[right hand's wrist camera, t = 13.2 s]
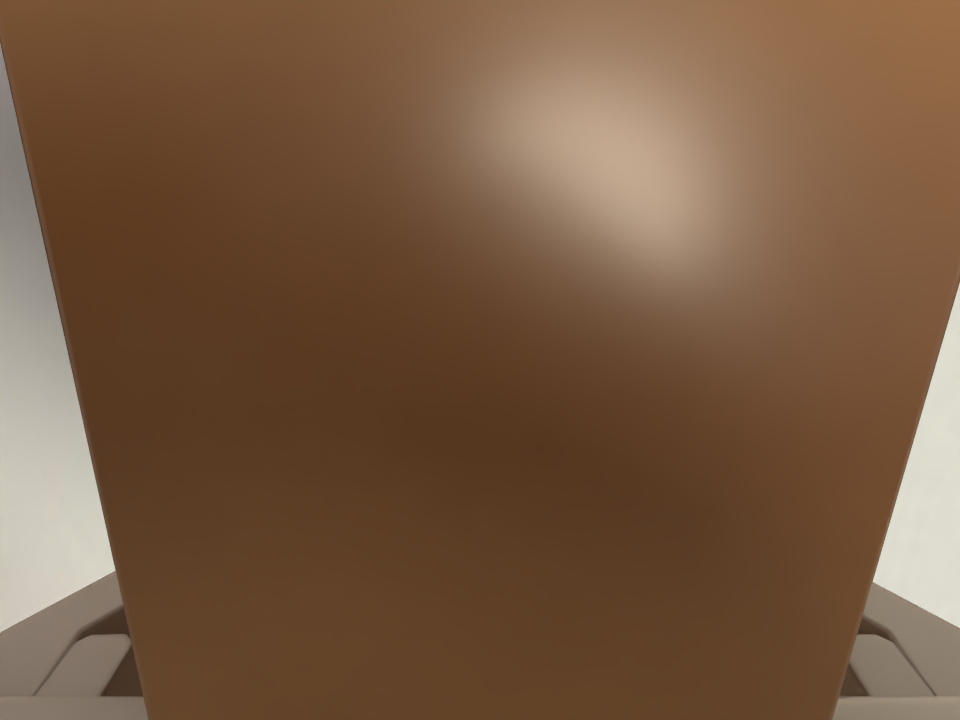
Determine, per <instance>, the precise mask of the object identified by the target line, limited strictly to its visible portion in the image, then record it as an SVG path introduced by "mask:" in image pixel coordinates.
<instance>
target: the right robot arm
mask: <svg viewBox="0 0 960 720" xmlns="http://www.w3.org/2000/svg"><path fill="white" fill-rule="evenodd" d="M0 720H148V716H147V712H146V707H145V703H144V698H143V693H142V689H141V684H140V680H139V675H138V670H137V666H136V661H135V657H134V652H133V648H132V643H131V638H130V634H129V629H128V625H127V620H126V616H125V611H124V606H123V602H122V597H121V593H120V588H119V584H118V579H117V574H116V571H114V572H113V573H111V574H109V575H107V576H105V577H103V578H101V579H99V580H98V581H96V582H94V583H92V584H90V585H88V586H86V587H85V588H83V589H81V590H79V591H77V592H75V593H73V594H71V595H70V596H68V597H66V598H64V599H62V600H60V601H58V602H56V603H55V604H53V605H51V606H49V607H47V608H45V609H43V610H42V611H40V612H38V613H36V614H34V615H32V616H30V617H28V618H27V619H25V620H23V621H21V622H19V623H17V624H15V625H13V626H12V627H10V628H8V629H6V630H4V631H2V632H1V633H0ZM832 720H960V628H958V627H956V626H954V625H952V624H950V623H949V622H947V621H945V620H943V619H941V618H939V617H937V616H935V615H934V614H932V613H930V612H928V611H926V610H924V609H922V608H920V607H919V606H917V605H915V604H913V603H911V602H909V601H907V600H905V599H903V598H902V597H900V596H898V595H896V594H894V593H892V592H890V591H888V590H887V589H885V588H883V587H881V586H879V585H877V584H875V583H873V582H872V585H871V588H870V592H869V595H868V599H867V602H866V605H865V609H864V612H863V616H862V619H861V623H860V626H859V629H858V633H857V636H856V640H855V643H854V647H853V650H852V653H851V657H850V660H849V664H848V667H847V671H846V674H845V678H844V681H843V684H842V688H841V691H840V695H839V698H838V702H837V705H836V708H835V712H834V715H833V719H832Z"/></svg>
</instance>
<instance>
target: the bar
mask: <svg viewBox="0 0 960 720" xmlns="http://www.w3.org/2000/svg"><path fill="white" fill-rule="evenodd" d="M0 43H1V48H2V52H3V57H4V62H5V66H6V71H7V75H8V80H9V84H10V89H11V94H12V98H13V103H14V107H15V112H16V117H17V121H18V126H19V130H20V135H21V139H22V144H23V149H24V153H25V158H26V162H27V167H28V171H29V176H30V181H31V185H32V190H33V194H34V199H35V204H36V208H37V213H38V217H39V222H40V226H41V231H42V236H43V240H44V245H45V249H46V254H47V258H48V263H49V268H50V272H51V277H52V281H53V286H54V290H55V295H56V300H57V304H58V309H59V313H60V318H61V323H62V327H63V332H64V336H65V341H66V345H67V350H68V355H69V359H70V364H71V368H72V373H73V377H74V382H75V387H76V391H77V396H78V400H79V405H80V410H81V414H82V419H83V423H84V428H85V432H86V437H87V442H88V446H89V451H90V455H91V460H92V464H93V469H94V474H95V478H96V483H97V487H98V492H99V497H100V501H101V506H102V510H103V515H104V519H105V524H106V529H107V533H108V538H109V542H110V547H111V551H112V556H113V561H114V565H115V570H116V574H117V579H118V584H119V588H120V593H121V597H122V602H123V606H124V611H125V616H126V620H127V625H128V629H129V634H130V638H131V643H132V648H133V652H134V657H135V661H136V666H137V670H138V675H139V680H140V684H141V689H142V693H143V698H144V703H145V707H146V712H147V716H148V720H832V719H833V715H834V712H835V708H836V705H837V702H838V698H839V695H840V691H841V688H842V684H843V681H844V678H845V674H846V671H847V667H848V664H849V660H850V657H851V653H852V650H853V647H854V643H855V640H856V636H857V633H858V629H859V626H860V623H861V619H862V616H863V612H864V609H865V605H866V602H867V599H868V595H869V592H870V588H871V585H872V581H873V578H874V575H875V571H876V568H877V564H878V561H879V557H880V554H881V550H882V547H883V544H884V540H885V537H886V533H887V530H888V526H889V523H890V520H891V516H892V513H893V509H894V506H895V502H896V499H897V496H898V492H899V489H900V485H901V482H902V478H903V475H904V472H905V468H906V465H907V461H908V458H909V454H910V451H911V447H912V444H913V441H914V437H915V434H916V430H917V427H918V423H919V420H920V417H921V413H922V410H923V406H924V403H925V399H926V396H927V393H928V389H929V386H930V382H931V379H932V375H933V372H934V369H935V365H936V362H937V358H938V355H939V351H940V348H941V344H942V341H943V338H944V334H945V331H946V327H947V324H948V320H949V317H950V314H951V310H952V307H953V303H954V300H955V296H956V293H957V290H958V286H959V283H960V0H0Z"/></svg>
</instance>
